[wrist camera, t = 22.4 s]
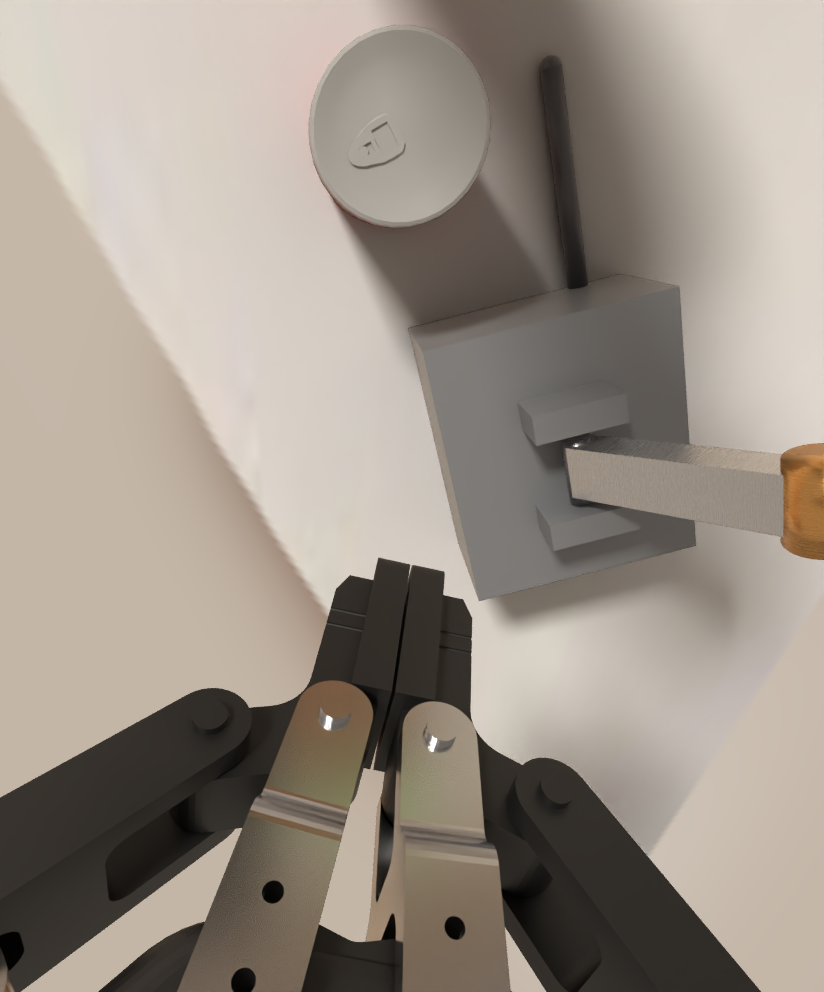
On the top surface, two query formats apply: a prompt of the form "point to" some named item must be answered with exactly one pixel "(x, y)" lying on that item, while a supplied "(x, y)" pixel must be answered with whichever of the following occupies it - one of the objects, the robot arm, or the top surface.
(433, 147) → the canned food
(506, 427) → the box
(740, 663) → the top surface
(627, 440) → the breaker lever
